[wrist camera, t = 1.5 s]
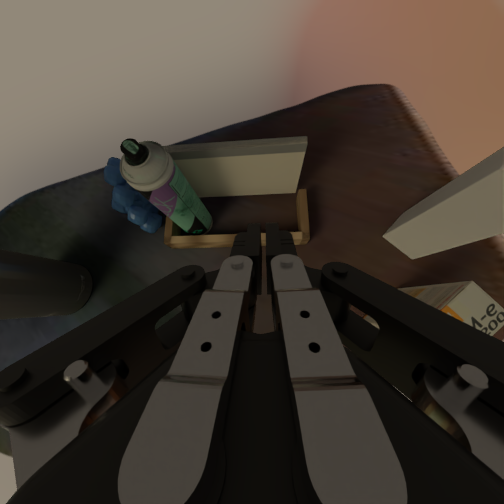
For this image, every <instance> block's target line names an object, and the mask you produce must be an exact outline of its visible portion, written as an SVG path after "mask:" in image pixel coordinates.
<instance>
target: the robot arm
mask: <svg viewBox="0 0 504 504" xmlns="http://www.w3.org/2000/svg"><path fill="white" fill-rule="evenodd" d="M266 267H267V294H271V297H272V314H273V322H274V332H270V333H266V334H256V333H253V329H254V320H255V311H256V300H257V295H261V286H262V243H261V223H255V224H248V228H247V232H239V233H238V234H237V235H236V236H235V238H234V242H233V246H232V250H231V254H230V257H229V258H227V259H226V260H225V261H224V262H223V263H222V266H221V268H220V269H219V270H216V271H212V272H207V273H205V271H204V269H203V268H202V267H201V266H197V265H189V266H185V267H182V268H180V269H178V270H177V271H175V272H173V273H171V274H170V275H168V276H166V277H164V278H162V279H161V280H159V281H157V282H155V283H154V284H152V285H150V286H148V287H147V288H145V289H143V290H141V291H140V292H138V293H136V294H134V295H133V296H131V297H129V298H127V299H126V300H124V301H122V302H120V303H119V304H117V305H115V306H113V307H112V308H110V309H108V310H106V311H105V312H103V313H101V314H99V315H98V316H96V317H94V318H92V319H91V320H89V321H87V322H85V323H84V324H82V325H80V326H78V327H77V328H75V329H73V330H71V331H70V332H68V333H66V334H64V335H63V336H61V337H59V338H57V339H56V340H54V341H52V342H50V343H49V344H47V345H45V346H43V347H42V348H40V349H38V350H36V351H34V352H33V353H31V354H29V355H27V356H26V357H24V358H22V359H20V360H19V361H17V362H15V363H13V364H12V365H10V366H8V367H7V368H5V369H4V370H2V371H1V372H0V426H1V427H3V428H4V429H6V430H8V431H9V432H10V439H11V447H12V454H13V462H14V469H15V476H16V484H17V491H16V492H15V494H14V495H13V496H12V497H11V498H10V499H9V501H8V502H7V503H6V504H504V342H503V341H501V340H499V339H497V338H495V337H493V336H490V335H488V334H486V333H484V332H482V331H480V330H478V329H476V328H474V327H472V326H470V325H468V324H466V323H464V322H462V321H460V320H458V319H456V318H454V317H452V316H450V315H448V314H446V313H444V312H442V311H440V310H438V309H436V308H434V307H432V306H430V305H428V304H426V303H424V302H422V301H420V300H418V299H416V298H414V297H412V296H410V295H408V294H406V293H404V292H402V291H400V290H398V289H396V288H394V287H392V286H390V285H388V284H386V283H384V282H382V281H380V280H378V279H376V278H374V277H372V276H370V275H368V274H366V273H364V272H362V271H360V270H358V269H356V268H354V267H352V266H350V265H348V264H345V263H341V262H331V263H327V264H325V265H324V266H323V267H322V270H318V269H313V268H309V267H307V266H305V265H303V262H302V260H301V259H300V258H299V257H298V256H297V252H296V248H295V244H294V240H293V236H292V234H291V233H290V232H289V231H287V230H285V231H279V227H278V223H266ZM91 291H92V277H91V275H90V273H89V271H88V270H87V269H86V268H85V267H83V266H81V265H78V264H73V263H68V262H63V261H58V260H54V259H48V258H43V257H38V256H33V255H28V254H22V253H17V252H12V251H7V250H2V249H0V320H1V319H16V318H30V317H46V316H61V315H69V314H72V313H74V312H76V311H78V310H79V309H80V308H82V306H83V305H84V304H85V303H86V302H87V300H88V299H89V297H90V294H91ZM180 304H181V307H182V310H183V311H181V312H180V313H178V314H177V315H176V316H174V317H173V318H172V319H170V320H169V321H167V322H166V323H165V324H163V325H162V326H161V327H159V328H158V329H156V330H155V325H156V323H157V321H158V320H159V319H160V318H161V317H163V316H164V315H166V314H167V313H169V312H170V311H171V310H173V309H174V308H176V307H177V306H179V305H180ZM351 305H353V306H354V307H356V308H358V309H359V310H361V311H362V312H364V313H365V314H367V315H368V316H370V317H371V318H373V319H374V320H375V321H376V322H377V324H378V326H379V329H378V328H377V327H375V326H374V325H372V324H371V323H369V322H368V321H366V320H365V319H363V318H362V317H360V316H359V315H357V314H356V313H354V312H353V311H351V310H350V307H351ZM342 344H343V345H345V346H346V347H347V348H348V349H347V348H346V347H344V346H343V345H342ZM349 349H350V350H351V351H350V350H349ZM372 368H373V369H372ZM378 373H379V374H380V375H379V374H378ZM384 378H385V379H386V380H385V379H384ZM389 382H390V383H391V384H392V385H393V386H392V385H391V384H390V383H389ZM395 387H396V388H397V389H398V390H399V391H398V390H397V389H396V388H395ZM401 392H402V393H403V394H404V395H405V396H406V397H405V396H404V395H403V394H402V393H401ZM407 397H408V398H409V399H410V400H411V401H412V402H411V401H410V400H409V399H408V398H407Z"/></svg>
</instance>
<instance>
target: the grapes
mask: <svg viewBox="0 0 504 504" xmlns="http://www.w3.org/2000/svg"><path fill="white" fill-rule="evenodd" d="M120 161H121V160H120V159H118V158H114V157H111V158H109V160H108V163H107V166H106V167H105V169H104V180H105V181H106V182H107V183H109V184H111V185H113V186H114V189H113V192H112V196H113V198H112V208H113V209H115V210H116V211H118V212H121V213H126V214H127V213H128V220H129V221H131V222H132V223H134V224H136V225H140V228H141V229H143V230H144V231H146V232H149V233H155V232H156V231H157V230H158V228H160V227H161V225H162V216H160V215H159V214H158V211H159V209H158V208H157V207H156V206H154V205H153V204H152V203H151V202H150V201H148V200H147V199H146V198H145V197H144V196H142V195H141V194H140V193H139V192H138V191H136V190H135V189H134V188H133V187H132V186H130V185H129V184H128V183H127V181H126V180H125V179H124V178H123V176H122V175H121V172H120Z"/></svg>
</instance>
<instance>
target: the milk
mask: <svg viewBox="0 0 504 504" xmlns="http://www.w3.org/2000/svg"><path fill="white" fill-rule="evenodd" d="M502 233H504V147H503V148H501V149H500V150H498V151H497V152H495V153H493V154H492V155H490V156H489V157H487V158H486V159H484V160H483V161H481V162H480V163H478V164H477V165H475V166H474V167H472V168H471V169H469V170H468V171H466V172H465V173H463V174H462V175H460V176H458V177H457V178H455V179H454V180H452V181H451V182H449V183H448V184H446V185H445V186H443V187H442V188H440V189H439V190H437V191H436V192H434V193H433V194H431V195H430V196H428V197H427V198H425V199H423V200H422V201H420V202H419V203H417V204H416V205H414V206H413V207H411V208H410V209H408V210H407V211H405V212H404V213H403V214H402V215H401V216H400V217H399V218H398V219H397V220H396V221H395V223H394V224H393V225H392V226H391V227H390V228H389V229H388V230H387V231H386V233H385V234H384V235H383V236H382V237H384V238H385V239H386V240H387V241H389V242H390V243H391V244H393V245H394V246H395V247H397V248H398V249H399V250H400V251H402V252H403V253H404V254H406V255H407V256H408V257H409V258H411V259H416V258H420V257H423V256H426V255H430V254H433V253H437V252H440V251H444V250H447V249H451V248H454V247H458V246H461V245H464V244H468V243H471V242H475V241H478V240H482V239H485V238H489V237H492V236H496V235H499V234H502Z"/></svg>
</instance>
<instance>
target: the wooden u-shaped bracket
mask: <svg viewBox="0 0 504 504" xmlns="http://www.w3.org/2000/svg"><path fill="white" fill-rule="evenodd" d="M296 203H297V218H298V232H290V233H291V234H292V236H293V240H294V244H295V245H305V244H307V242H308V241H309V239H310V232H309V219H308V206H307V194H306V189H299V191H298V195H297V198H296ZM180 235H181V227H180V226H178V225H177V224H176V223H175V222H174V221H172V220H171V219H170V218H169V217H168V216H166V225H165V236H164V244H166V245H168V246H169V247H171V248H173V249H176V248H208V247H232V246H233V242H234V238H235V236H236V235H237V234H224V235H195V236H180ZM261 243H262V246H266V233H261Z"/></svg>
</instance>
